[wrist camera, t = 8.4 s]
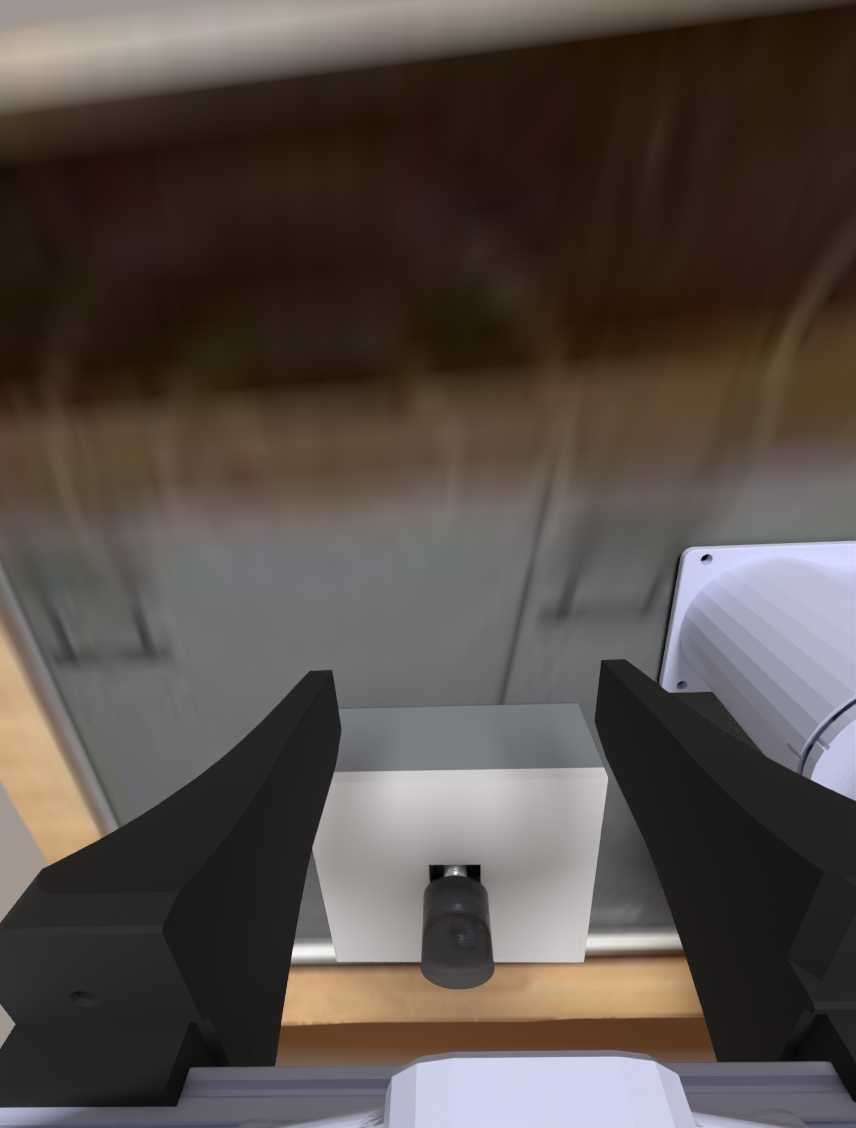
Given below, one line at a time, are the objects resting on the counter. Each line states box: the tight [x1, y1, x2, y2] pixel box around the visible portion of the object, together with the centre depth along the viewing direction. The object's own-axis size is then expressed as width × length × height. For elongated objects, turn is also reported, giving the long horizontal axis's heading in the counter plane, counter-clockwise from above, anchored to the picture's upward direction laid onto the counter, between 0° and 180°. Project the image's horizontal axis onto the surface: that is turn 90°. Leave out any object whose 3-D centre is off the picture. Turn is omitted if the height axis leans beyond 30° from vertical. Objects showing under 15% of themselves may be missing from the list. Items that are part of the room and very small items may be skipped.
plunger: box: [421, 865, 494, 989], centre depth 24 cm, size 11×11×8 cm
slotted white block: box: [312, 703, 608, 962], centre depth 26 cm, size 14×14×5 cm
